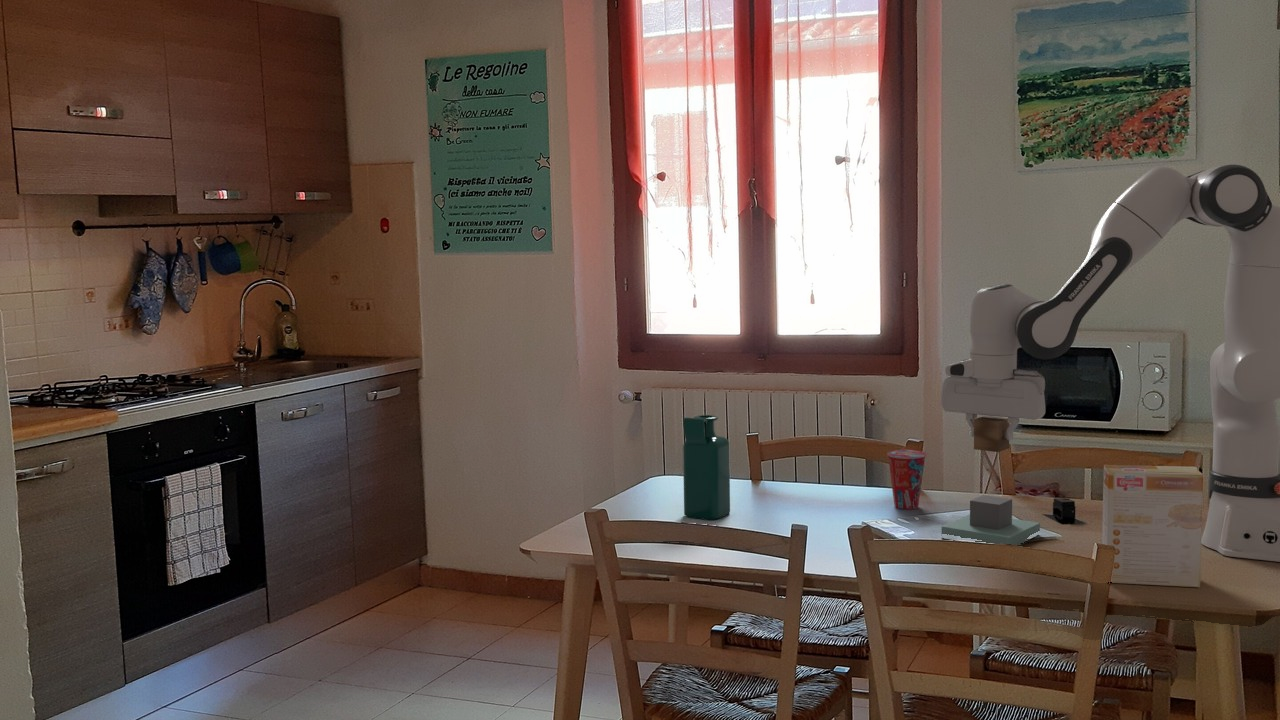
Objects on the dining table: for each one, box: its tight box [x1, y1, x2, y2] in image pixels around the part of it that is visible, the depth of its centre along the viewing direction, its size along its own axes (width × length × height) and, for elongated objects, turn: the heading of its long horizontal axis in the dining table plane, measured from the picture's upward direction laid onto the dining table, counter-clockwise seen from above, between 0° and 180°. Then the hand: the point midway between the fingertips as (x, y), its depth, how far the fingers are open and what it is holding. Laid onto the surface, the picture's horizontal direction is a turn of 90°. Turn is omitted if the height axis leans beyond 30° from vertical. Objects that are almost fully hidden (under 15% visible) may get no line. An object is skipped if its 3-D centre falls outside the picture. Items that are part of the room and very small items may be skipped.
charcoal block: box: [969, 494, 1013, 530], centre depth 229 cm, size 6×6×5 cm
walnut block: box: [973, 415, 1011, 453], centre depth 227 cm, size 5×5×6 cm
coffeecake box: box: [1101, 464, 1204, 588], centre depth 199 cm, size 15×7×20 cm, turn 75°
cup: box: [886, 449, 927, 510], centre depth 256 cm, size 9×8×12 cm
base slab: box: [941, 514, 1041, 546], centre depth 229 cm, size 14×14×2 cm
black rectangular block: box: [1041, 497, 1087, 525], centre depth 243 cm, size 12×7×5 cm, turn 7°
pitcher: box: [682, 414, 731, 521], centre depth 251 cm, size 10×8×22 cm
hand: (991, 438), depth 227 cm, fingers closed on walnut block, 5 cm apart
